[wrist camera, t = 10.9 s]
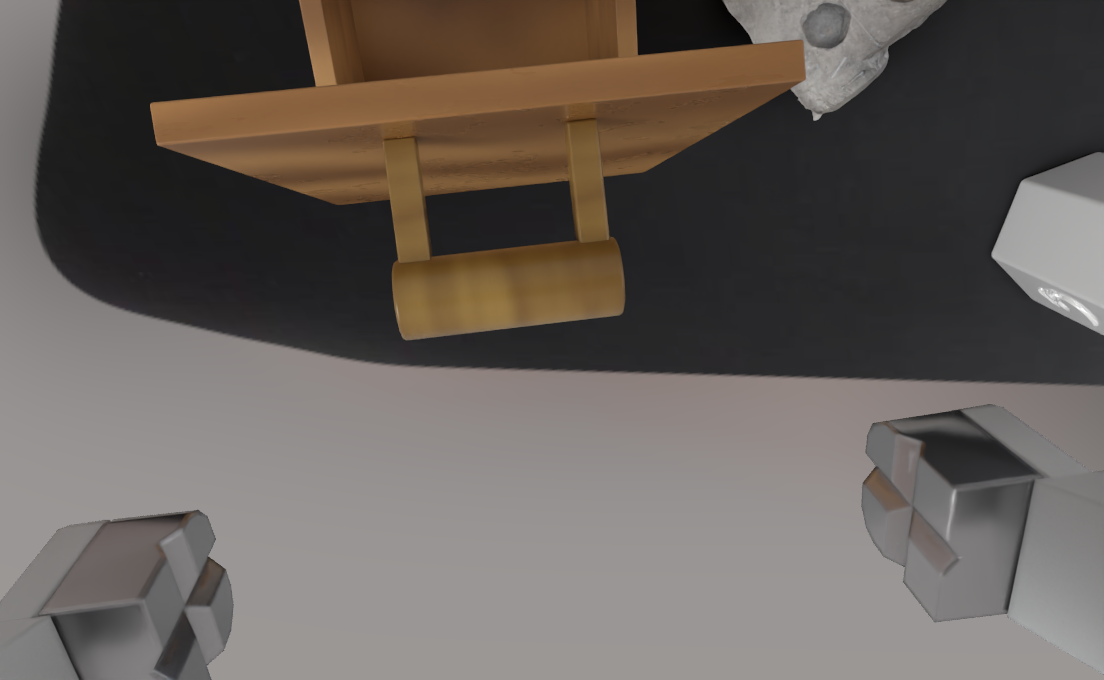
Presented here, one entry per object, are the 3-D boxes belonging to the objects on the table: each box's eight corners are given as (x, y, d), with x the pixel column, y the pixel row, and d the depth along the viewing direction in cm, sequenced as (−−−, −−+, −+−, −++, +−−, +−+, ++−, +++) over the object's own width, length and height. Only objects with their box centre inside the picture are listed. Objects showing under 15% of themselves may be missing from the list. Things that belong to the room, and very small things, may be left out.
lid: (147, 102, 14) (194, 376, 15) (804, 38, 15) (823, 301, 15) (334, 185, 30) (352, 313, 31) (643, 152, 31) (655, 278, 32)
